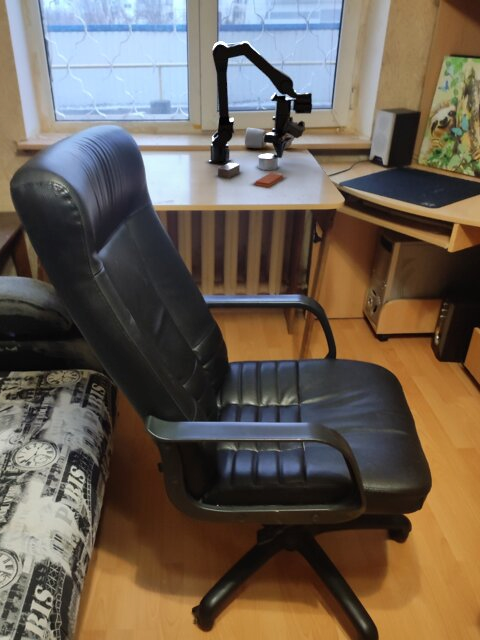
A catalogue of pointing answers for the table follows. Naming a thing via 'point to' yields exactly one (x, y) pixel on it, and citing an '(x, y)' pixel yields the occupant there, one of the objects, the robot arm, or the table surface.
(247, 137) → the ceramic mug
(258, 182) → the terracotta tray
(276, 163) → the silver pot
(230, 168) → the walnut block
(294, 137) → the frog figurine
